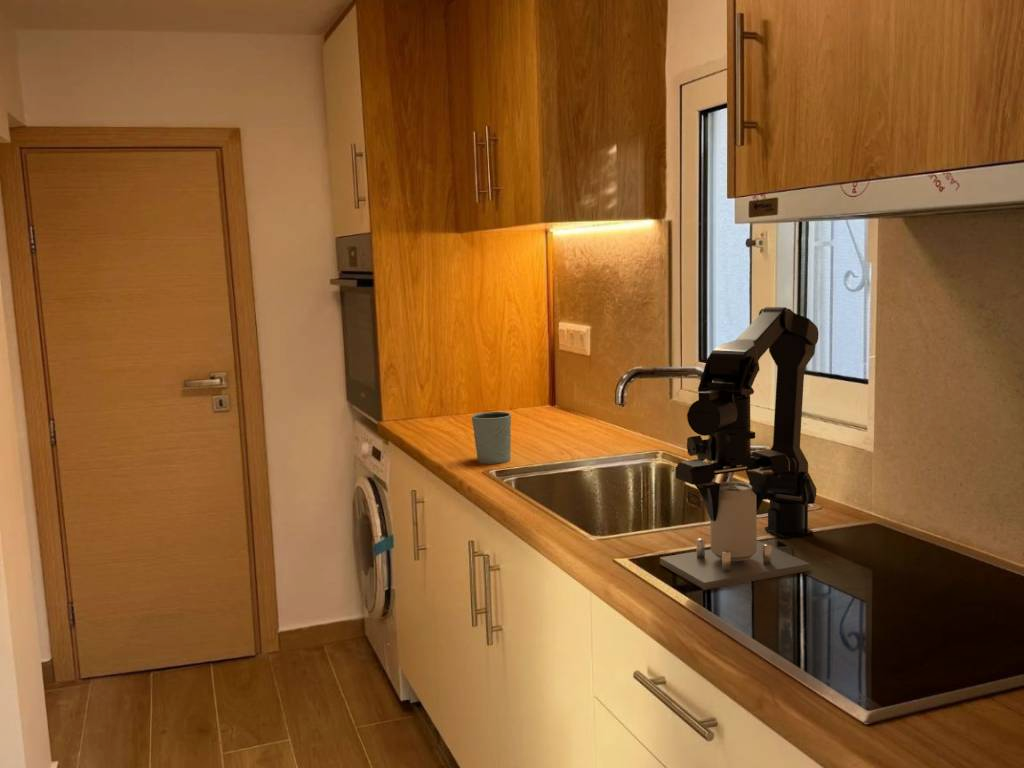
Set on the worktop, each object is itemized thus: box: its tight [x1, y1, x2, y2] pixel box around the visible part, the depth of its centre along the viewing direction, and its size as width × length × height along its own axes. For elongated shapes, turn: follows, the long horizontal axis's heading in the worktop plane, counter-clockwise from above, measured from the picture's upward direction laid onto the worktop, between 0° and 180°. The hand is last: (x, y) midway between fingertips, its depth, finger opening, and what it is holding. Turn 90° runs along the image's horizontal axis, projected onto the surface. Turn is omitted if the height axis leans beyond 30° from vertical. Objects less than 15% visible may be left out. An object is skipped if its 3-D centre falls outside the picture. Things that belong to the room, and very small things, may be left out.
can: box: [709, 481, 758, 561], centre depth 162 cm, size 8×8×12 cm
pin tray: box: [659, 537, 811, 591], centre depth 163 cm, size 20×14×4 cm
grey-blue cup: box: [471, 411, 512, 465], centre depth 252 cm, size 10×10×12 cm
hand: (733, 517), depth 162 cm, fingers closed on can, 7 cm apart
